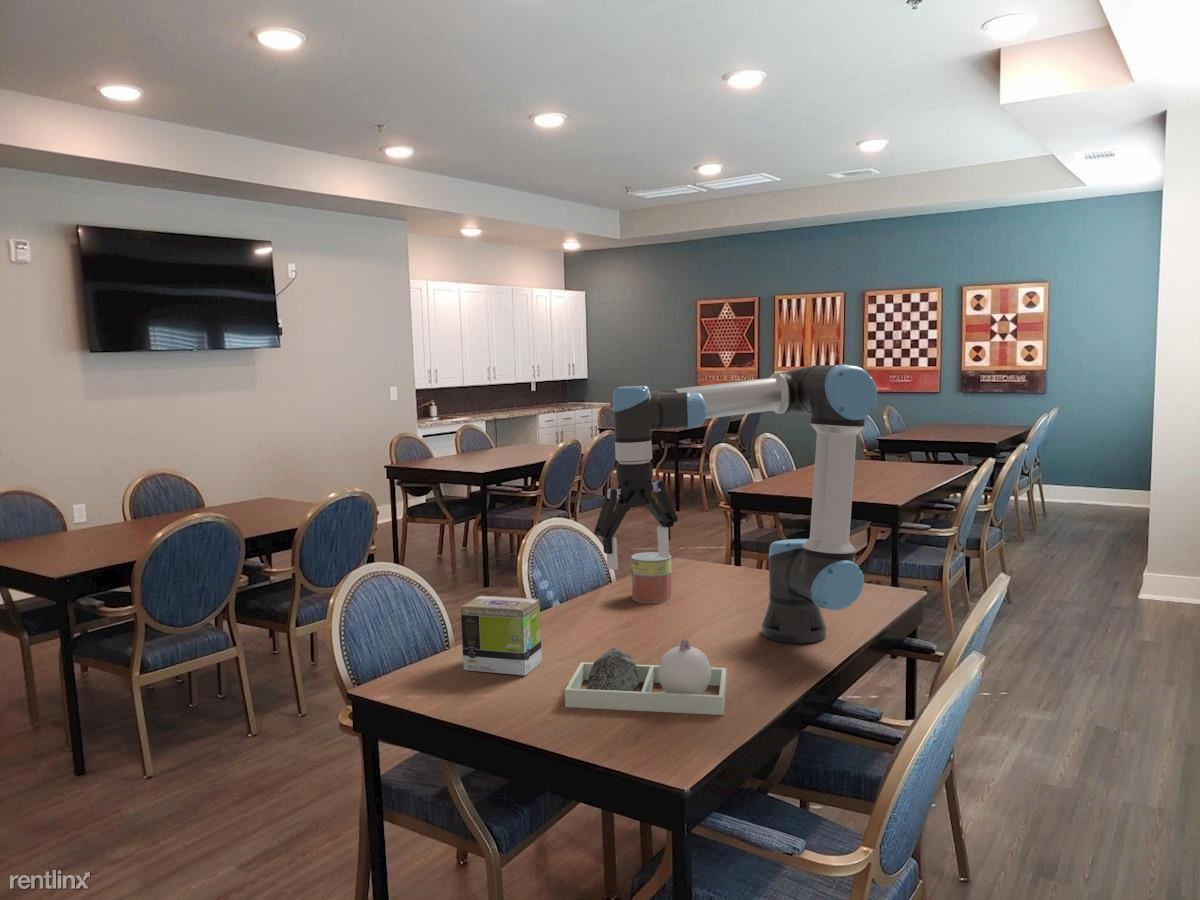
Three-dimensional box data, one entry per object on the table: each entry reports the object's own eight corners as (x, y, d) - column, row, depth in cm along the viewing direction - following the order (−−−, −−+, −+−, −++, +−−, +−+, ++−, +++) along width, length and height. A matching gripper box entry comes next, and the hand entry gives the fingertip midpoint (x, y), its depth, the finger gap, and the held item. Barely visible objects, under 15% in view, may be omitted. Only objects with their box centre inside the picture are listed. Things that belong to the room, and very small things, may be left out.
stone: (613, 652, 171) (621, 635, 181) (576, 682, 173) (585, 664, 183) (645, 690, 171) (651, 670, 181) (608, 719, 173) (616, 699, 183)
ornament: (697, 711, 167) (696, 650, 166) (650, 701, 172) (648, 642, 171) (719, 693, 175) (719, 635, 174) (673, 684, 181) (673, 627, 180)
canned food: (634, 592, 253) (633, 551, 252) (673, 593, 252) (672, 551, 251) (630, 603, 242) (629, 560, 241) (671, 603, 241) (670, 560, 240)
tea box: (543, 662, 196) (541, 597, 195) (524, 677, 187) (522, 610, 185) (482, 656, 201) (480, 593, 200) (461, 671, 192) (459, 605, 190)
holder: (726, 684, 180) (726, 668, 180) (723, 715, 165) (723, 697, 164) (581, 678, 186) (580, 662, 185) (565, 707, 170) (564, 689, 170)
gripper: (668, 453, 190) (672, 549, 193) (573, 467, 176) (579, 570, 178) (691, 456, 184) (695, 554, 187) (595, 470, 170) (600, 577, 172)
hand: (638, 562), depth 182 cm, fingers open, 13 cm apart
